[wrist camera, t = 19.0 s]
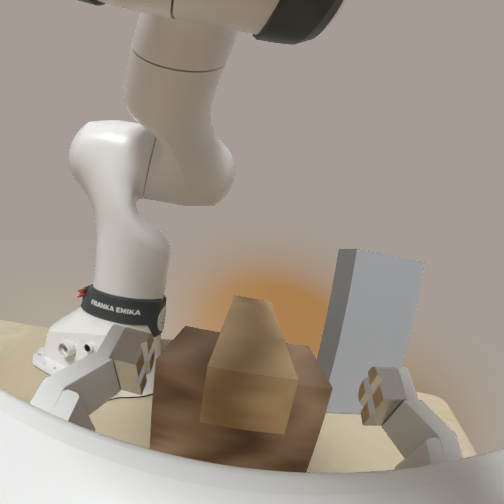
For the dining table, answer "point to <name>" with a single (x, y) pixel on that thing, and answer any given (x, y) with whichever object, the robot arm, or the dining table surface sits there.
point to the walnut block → (224, 438)
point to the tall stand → (366, 321)
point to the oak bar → (249, 372)
